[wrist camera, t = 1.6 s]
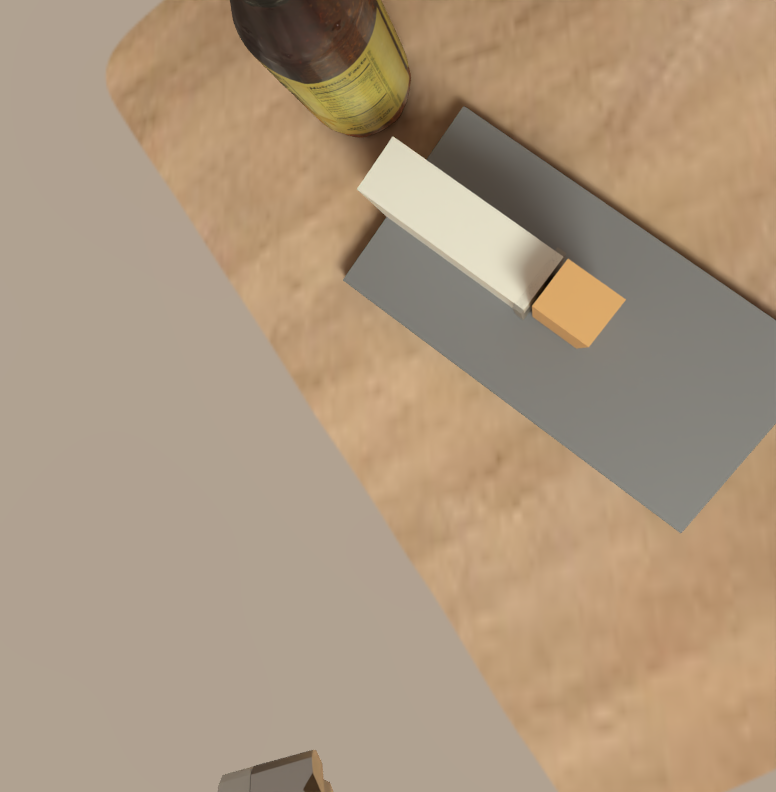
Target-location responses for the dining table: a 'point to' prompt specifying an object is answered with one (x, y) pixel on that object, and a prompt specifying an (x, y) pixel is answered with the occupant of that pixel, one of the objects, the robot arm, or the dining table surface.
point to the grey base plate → (546, 351)
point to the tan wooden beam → (576, 305)
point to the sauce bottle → (331, 58)
